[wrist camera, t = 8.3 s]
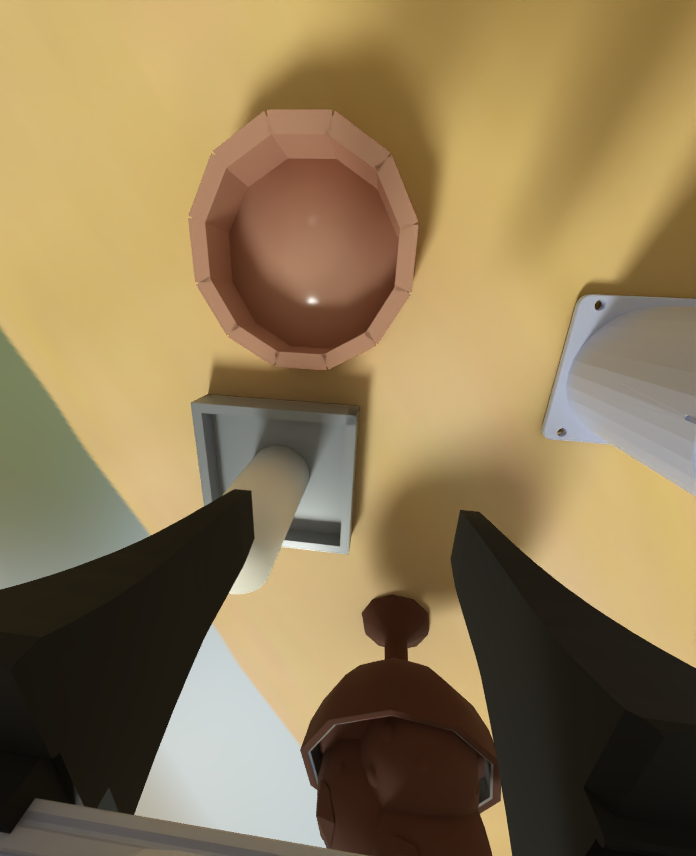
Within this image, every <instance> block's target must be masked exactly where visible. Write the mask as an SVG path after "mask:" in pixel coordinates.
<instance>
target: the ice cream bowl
mask: <svg viewBox="0 0 696 856" xmlns="http://www.w3.org/2000/svg"><path fill="white" fill-rule="evenodd" d="M362 617H363V623H364V629H365V633H366V635H367V636H369V637H370V638H371V639H372V640H373V641H374V642H375V643H377V644H378V645H379V646H383V647H385V660H381V661H376V662H371V663H367V664H363V665H359V666H358V667H356V668H355V669H354V670H352V671H351V672H349V673H348V674H346V675H345V676H344V677H343V678H342V680H341V681H340V682H339V683H338V684H337V685H336V686H335V688H334V689H333V690H332V691H331V692H330V693H329V694H328V695H327V697H326V698H325V699H324V700H323V702H322V703H321V705H320V707H319V708H318V710H317V711H316V713H315V715H314V716H313V718H312V720H311V722H310V724H309V727H308V730H307V733H306V736H305V738H304V741H303V744H302V747H301V750H300V751H301V754H302V757H303V761H304V764H305V767H306V771H307V774H308V777H309V781H310V784H311V786H313V787H314V788H315V789H317V790H318V792H317V810H316V817H317V821H318V825H319V830H320V835H321V837H322V839H323V840H324V842H325V845H326V848H327V849H333V850H339V851H344V852H350V853H356V854H362V855H367V856H492V852H491V848H490V845H489V841H488V838H487V834H486V830H485V827H484V825H483V822H482V819H481V817H480V813H482V812H483V811H485V810H487V809H488V808H490V807H491V806H493V805H495V804H496V803H498V802H500V801H501V780H500V774H499V768H498V762H497V757H496V751H495V746H494V742H493V740H492V737H491V735H490V732H489V730H488V728H487V727H486V725H485V724H484V722H483V720H482V719H481V717H480V716H479V714H478V713H477V711H476V710H475V708H474V707H473V706H472V705H471V704H470V703H469V702H468V701H467V700H466V699H465V698H464V697H462V696H461V695H460V694H459V693H458V692H457V691H456V690H455V689H453V688H452V687H451V686H450V685H449V684H448V683H447V682H446V681H444V680H443V679H442V678H441V677H440V676H439V675H437V674H436V673H435V672H434V671H433V670H431V669H430V668H429V667H427V666H424V665H421V664H418V663H413V662H409V661H408V650H407V648H411V647H415V646H417V645H418V644H419V643H420V642H421V641H422V640H423V639H424V638H425V637H426V636H427V635H428V632H429V619H428V613H427V612H426V611H425V610H424V609H423V608H422V607H421V606H420V605H419V604H418V603H417V602H416V601H415V600H413V599H408V598H404V597H400V596H395V595H390V596H386V597H382V598H378V599H375V600H372V601H371V602H370V604H369V605H368V606H367V607H366V609H365V610H364V611H363V612H362Z"/></svg>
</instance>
